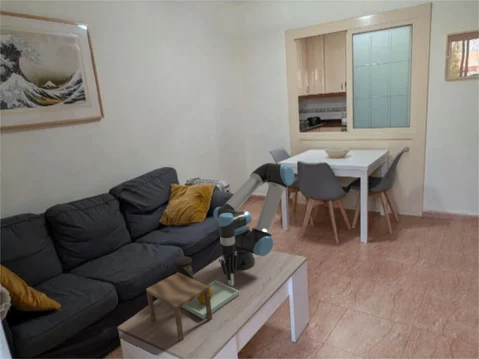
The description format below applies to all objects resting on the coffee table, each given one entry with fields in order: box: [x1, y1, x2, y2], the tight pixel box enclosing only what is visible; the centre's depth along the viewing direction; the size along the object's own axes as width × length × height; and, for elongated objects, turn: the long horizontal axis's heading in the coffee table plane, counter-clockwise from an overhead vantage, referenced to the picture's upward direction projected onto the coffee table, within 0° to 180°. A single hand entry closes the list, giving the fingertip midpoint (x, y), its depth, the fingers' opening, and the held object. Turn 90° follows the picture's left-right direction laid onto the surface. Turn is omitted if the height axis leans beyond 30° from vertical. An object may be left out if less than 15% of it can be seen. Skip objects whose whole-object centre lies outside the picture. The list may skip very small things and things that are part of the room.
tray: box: [181, 280, 240, 320], centre depth 165 cm, size 24×17×2 cm
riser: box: [145, 272, 213, 342], centre depth 151 cm, size 18×22×16 cm
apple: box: [197, 283, 213, 304], centre depth 163 cm, size 9×8×9 cm
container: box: [173, 256, 194, 279], centre depth 171 cm, size 9×9×20 cm
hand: (231, 284), depth 176 cm, fingers closed
